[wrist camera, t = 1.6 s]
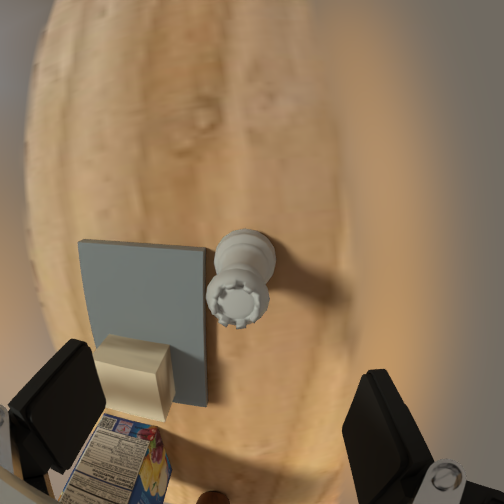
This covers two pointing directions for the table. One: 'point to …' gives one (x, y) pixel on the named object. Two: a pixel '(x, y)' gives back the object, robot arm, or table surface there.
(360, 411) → the robot arm
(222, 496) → the wooden figurine
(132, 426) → the juice carton
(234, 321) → the rook chess piece
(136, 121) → the table surface
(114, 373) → the beech block
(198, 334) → the plate
